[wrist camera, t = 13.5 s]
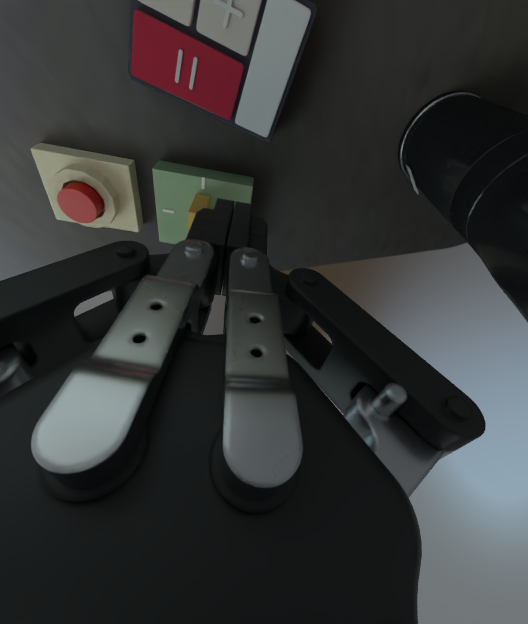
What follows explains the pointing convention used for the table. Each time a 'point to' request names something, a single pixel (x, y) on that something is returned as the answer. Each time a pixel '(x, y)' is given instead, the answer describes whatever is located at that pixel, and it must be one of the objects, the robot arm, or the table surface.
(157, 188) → the plate
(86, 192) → the button
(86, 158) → the box
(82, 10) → the table surface
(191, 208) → the lock turn
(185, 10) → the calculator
